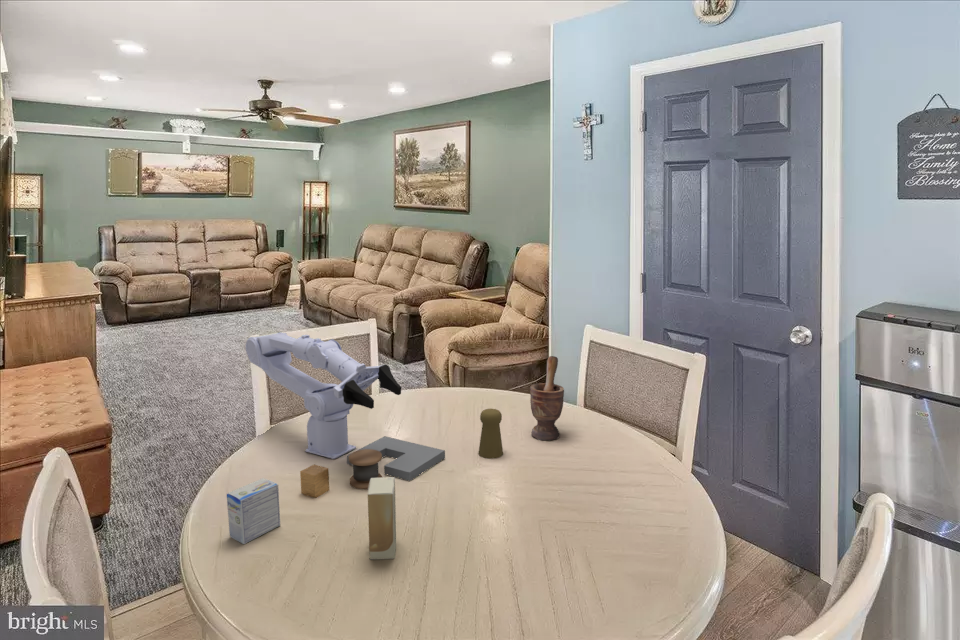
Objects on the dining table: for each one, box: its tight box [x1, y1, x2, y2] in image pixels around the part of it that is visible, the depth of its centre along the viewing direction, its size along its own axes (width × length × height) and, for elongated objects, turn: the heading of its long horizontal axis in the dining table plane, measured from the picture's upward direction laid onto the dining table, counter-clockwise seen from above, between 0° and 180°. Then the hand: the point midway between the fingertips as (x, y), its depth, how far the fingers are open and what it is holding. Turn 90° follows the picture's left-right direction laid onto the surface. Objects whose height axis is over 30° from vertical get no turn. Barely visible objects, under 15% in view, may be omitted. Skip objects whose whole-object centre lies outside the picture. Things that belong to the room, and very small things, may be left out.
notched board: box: [346, 436, 446, 482], centre depth 141 cm, size 18×14×2 cm
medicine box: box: [226, 477, 281, 545], centre depth 109 cm, size 8×4×9 cm, turn 145°
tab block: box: [299, 464, 330, 499], centre depth 125 cm, size 4×4×5 cm
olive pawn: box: [477, 408, 504, 460], centre depth 144 cm, size 6×6×11 cm
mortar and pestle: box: [529, 355, 565, 441], centre depth 157 cm, size 12×9×20 cm
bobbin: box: [348, 449, 383, 490], centre depth 130 cm, size 7×7×6 cm
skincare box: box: [367, 476, 397, 560], centre depth 103 cm, size 6×4×12 cm
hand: (386, 397), depth 131 cm, fingers open, 7 cm apart
